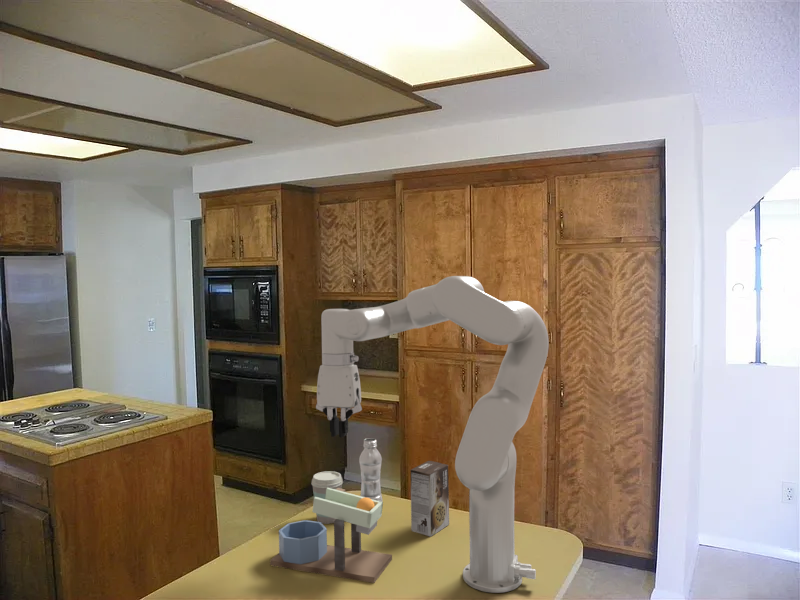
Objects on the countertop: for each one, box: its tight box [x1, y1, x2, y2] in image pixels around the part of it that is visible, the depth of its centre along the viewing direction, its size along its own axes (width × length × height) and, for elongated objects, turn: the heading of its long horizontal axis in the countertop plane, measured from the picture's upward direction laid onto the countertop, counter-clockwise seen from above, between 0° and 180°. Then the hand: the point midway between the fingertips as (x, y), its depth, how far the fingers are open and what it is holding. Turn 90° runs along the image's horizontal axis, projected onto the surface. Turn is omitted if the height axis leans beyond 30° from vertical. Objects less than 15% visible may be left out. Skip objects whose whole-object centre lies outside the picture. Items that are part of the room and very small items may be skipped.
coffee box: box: [410, 460, 450, 537], centre depth 153 cm, size 9×6×16 cm
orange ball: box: [357, 497, 375, 512], centre depth 131 cm, size 4×4×4 cm
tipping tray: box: [312, 488, 384, 536], centre depth 136 cm, size 14×13×5 cm
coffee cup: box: [311, 470, 344, 525], centre depth 159 cm, size 8×8×12 cm
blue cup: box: [278, 519, 328, 564], centre depth 137 cm, size 10×10×6 cm
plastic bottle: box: [358, 437, 384, 503], centre depth 165 cm, size 6×7×20 cm
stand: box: [269, 519, 393, 584], centre depth 134 cm, size 26×11×12 cm, turn 71°
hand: (339, 435), depth 142 cm, fingers closed
